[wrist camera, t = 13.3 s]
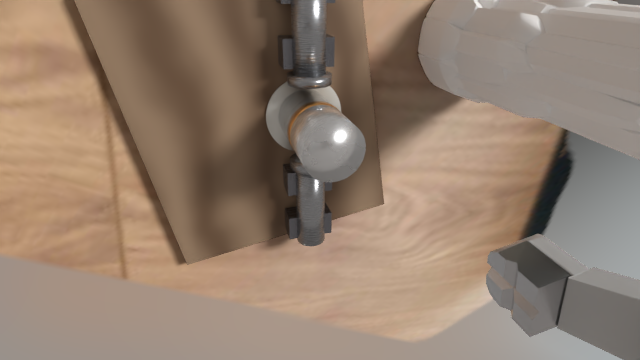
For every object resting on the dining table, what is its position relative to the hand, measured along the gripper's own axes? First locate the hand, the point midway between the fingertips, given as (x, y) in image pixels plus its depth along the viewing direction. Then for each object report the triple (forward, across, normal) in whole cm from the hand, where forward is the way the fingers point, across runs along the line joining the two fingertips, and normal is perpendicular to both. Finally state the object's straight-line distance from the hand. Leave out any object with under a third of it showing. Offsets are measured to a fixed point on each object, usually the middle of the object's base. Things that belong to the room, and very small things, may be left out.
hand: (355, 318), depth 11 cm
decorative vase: (+29, -24, +3) cm, 38 cm away
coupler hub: (+28, -6, +6) cm, 29 cm away
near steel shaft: (+28, -7, -2) cm, 29 cm away
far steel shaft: (+28, -5, +14) cm, 32 cm away
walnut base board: (+30, -2, +5) cm, 30 cm away
